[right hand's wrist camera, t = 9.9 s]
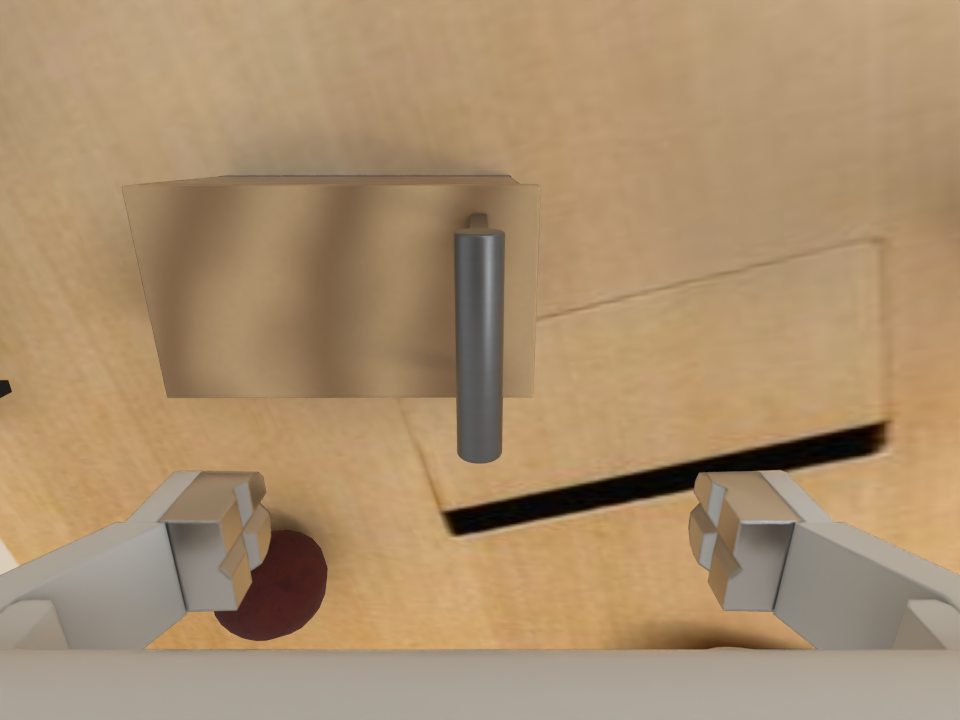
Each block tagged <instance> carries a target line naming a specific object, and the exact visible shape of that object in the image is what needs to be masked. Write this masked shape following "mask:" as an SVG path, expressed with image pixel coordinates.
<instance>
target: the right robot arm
mask: <svg viewBox="0 0 960 720" xmlns="http://www.w3.org/2000/svg"><path fill="white" fill-rule="evenodd" d="M265 494H266V488H265V483H264V478H263V476H262V475H261V474H260V473H259V472H240V471H203V470H200V471H177V472H173V473H172V474H171V475H170V476H169V477H168V478H167V479H166V480H165V481H164V482H163V483H162V484H161V486H160V487H159V488H158V489H157V490H156V491H155V492H154V493H153V494H152V495H151V496H150V497H149V498H148V499H147V500H146V501H145V502H144V503H143V504H142V505H141V506H140V507H139V508H138V509H137V510H136V511H135V512H134V513H133V514H132V515H131V516H130V517H129V519H128V520H127V521H126V522H116V523H113V524H111V525H109V526H107V527H105V528H102V529H100V530H98V531H96V532H94V533H91V534H89V535H87V536H85V537H83V538H81V539H78V540H76V541H74V542H72V543H70V544H67V545H65V546H63V547H61V548H59V549H56V550H54V551H52V552H50V553H48V554H45V555H43V556H41V557H39V558H37V559H35V560H32V561H30V562H28V563H26V564H24V565H21V566H19V567H17V568H15V569H13V570H11V571H8V572H6V573H4V574H2V575H0V720H960V575H958V574H956V573H954V572H951V571H949V570H947V569H945V568H943V567H941V566H938V565H936V564H934V563H932V562H930V561H927V560H925V559H923V558H921V557H919V556H917V555H914V554H912V553H910V552H908V551H906V550H903V549H901V548H899V547H897V546H895V545H893V544H890V543H888V542H886V541H884V540H882V539H879V538H877V537H875V536H873V535H871V534H868V533H866V532H864V531H862V530H860V529H858V528H855V527H853V526H851V525H849V524H847V523H844V522H834V521H833V520H832V518H831V517H830V516H829V515H828V514H827V513H826V512H825V511H824V510H823V509H822V508H821V507H820V506H819V505H818V504H817V503H816V502H815V501H814V500H813V499H812V498H811V497H810V496H809V495H808V494H807V493H806V492H805V491H804V490H803V489H802V487H801V486H800V485H799V484H798V483H797V482H796V481H795V480H794V479H793V478H792V477H791V476H790V475H789V474H788V473H786V472H784V471H781V470H774V471H748V472H708V473H699V474H698V477H697V479H696V481H695V487H694V494H695V495H696V497H697V499H698V500H699V502H700V503H699V504H698V505H697V506H696V507H695V508H694V509H693V510H692V511H691V512H690V520H689V539H690V545H691V548H692V552H693V554H694V556H695V558H696V560H697V562H698V564H699V565H701V566H702V567H704V568H705V569H707V570H708V571H710V572H709V578H708V583H709V585H710V587H711V589H712V591H713V592H714V594H715V596H716V598H717V600H718V602H719V604H720V605H721V607H722V609H723V611H759V612H774V613H773V614H774V615H775V616H776V617H777V618H779V619H780V620H781V621H782V622H784V623H785V624H786V625H787V626H789V627H790V628H791V629H793V630H794V631H795V632H796V633H798V634H799V635H800V636H801V637H803V638H804V639H805V640H806V641H808V642H809V643H810V644H811V645H813V646H814V647H815V648H816V649H568V650H537V649H144V648H145V647H146V646H148V645H149V644H150V643H151V642H153V641H154V640H155V639H156V638H158V637H159V636H160V635H161V634H163V633H164V632H165V631H166V630H168V629H169V628H170V627H171V626H173V625H174V624H175V623H176V622H178V621H179V620H180V619H182V618H183V617H184V616H185V615H186V614H187V613H186V612H201V611H236V610H237V609H238V607H239V606H240V604H241V602H242V600H243V598H244V596H245V594H246V593H247V591H248V589H249V587H250V585H251V583H252V578H251V572H250V571H252V570H253V569H255V568H256V567H258V566H259V565H261V564H262V562H263V560H264V558H265V556H266V554H267V552H268V548H269V544H270V539H271V519H270V512H269V511H268V510H267V509H266V508H265V507H264V506H263V505H262V504H261V503H260V502H261V500H262V499H263V497H264V495H265Z"/></svg>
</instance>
